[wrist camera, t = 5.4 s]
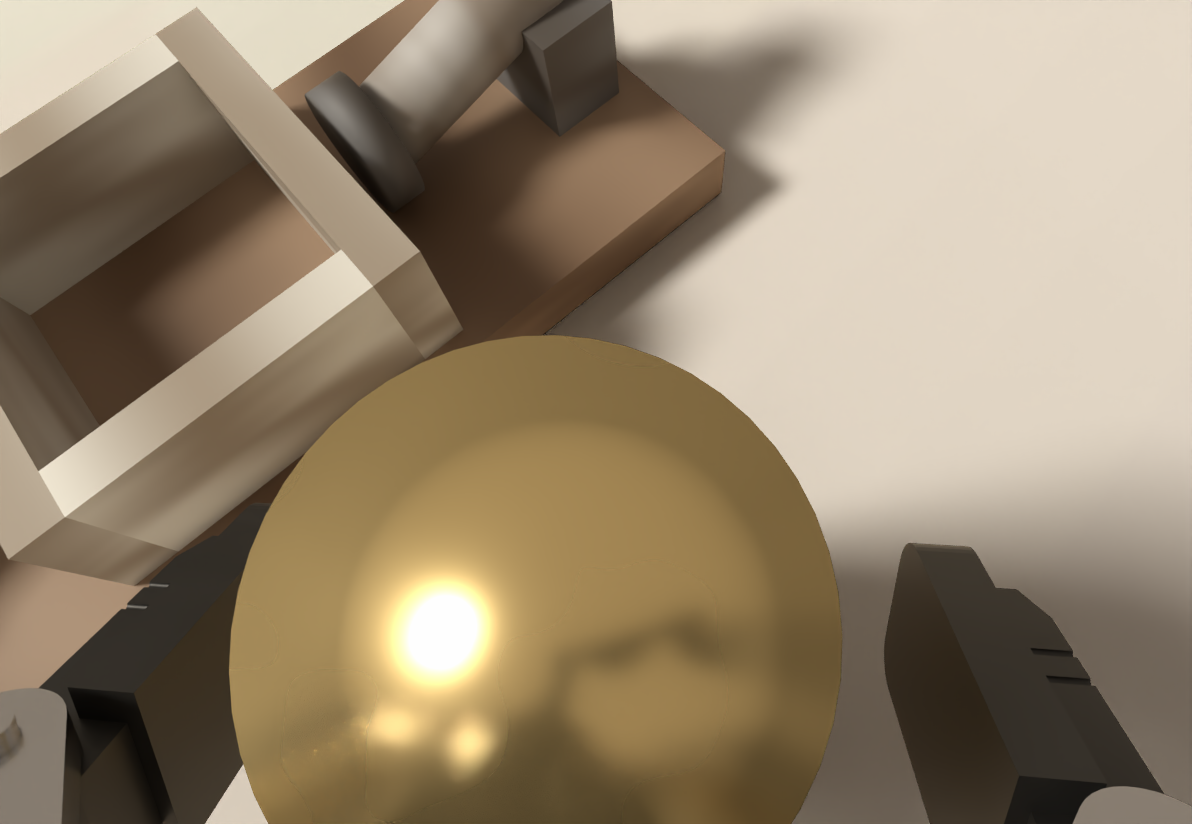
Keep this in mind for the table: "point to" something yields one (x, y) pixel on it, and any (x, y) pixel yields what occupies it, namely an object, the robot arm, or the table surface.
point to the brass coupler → (537, 604)
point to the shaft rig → (288, 266)
